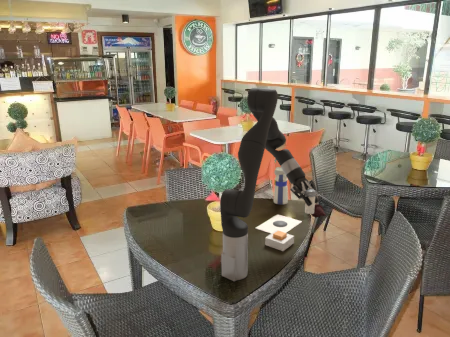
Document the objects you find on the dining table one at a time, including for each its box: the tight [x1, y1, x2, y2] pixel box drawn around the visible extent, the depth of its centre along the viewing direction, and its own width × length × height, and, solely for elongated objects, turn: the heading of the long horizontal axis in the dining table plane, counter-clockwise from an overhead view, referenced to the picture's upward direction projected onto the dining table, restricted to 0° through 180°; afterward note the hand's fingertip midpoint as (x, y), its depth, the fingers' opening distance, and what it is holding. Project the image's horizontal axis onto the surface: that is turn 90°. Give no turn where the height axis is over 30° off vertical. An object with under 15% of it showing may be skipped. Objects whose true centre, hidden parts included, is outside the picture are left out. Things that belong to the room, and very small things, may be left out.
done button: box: [273, 231, 288, 241], centre depth 162 cm, size 4×4×2 cm
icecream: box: [310, 203, 327, 219], centre depth 189 cm, size 7×7×15 cm
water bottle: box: [273, 157, 289, 205], centre depth 206 cm, size 8×9×25 cm
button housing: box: [264, 230, 295, 252], centre depth 162 cm, size 9×9×4 cm
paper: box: [255, 213, 303, 235], centre depth 181 cm, size 20×14×1 cm
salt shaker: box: [304, 188, 317, 215], centre depth 163 cm, size 4×4×10 cm
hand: (313, 203), depth 162 cm, fingers closed on salt shaker, 4 cm apart
